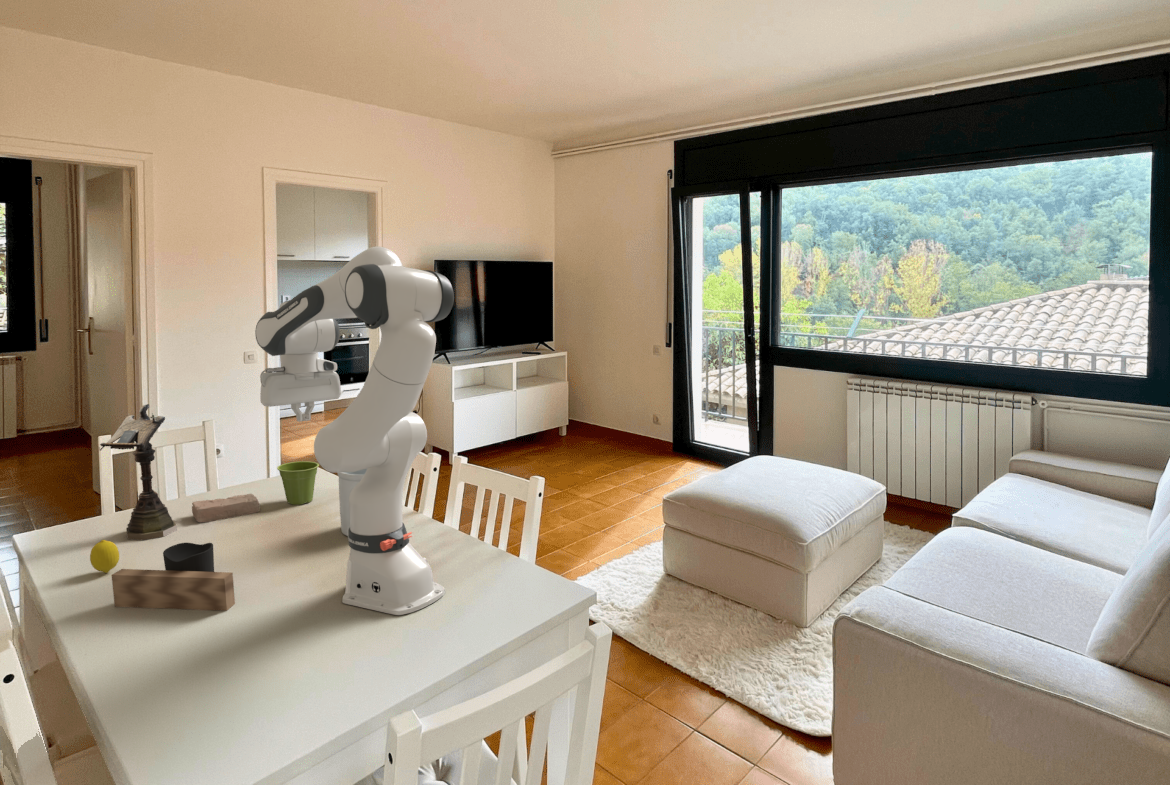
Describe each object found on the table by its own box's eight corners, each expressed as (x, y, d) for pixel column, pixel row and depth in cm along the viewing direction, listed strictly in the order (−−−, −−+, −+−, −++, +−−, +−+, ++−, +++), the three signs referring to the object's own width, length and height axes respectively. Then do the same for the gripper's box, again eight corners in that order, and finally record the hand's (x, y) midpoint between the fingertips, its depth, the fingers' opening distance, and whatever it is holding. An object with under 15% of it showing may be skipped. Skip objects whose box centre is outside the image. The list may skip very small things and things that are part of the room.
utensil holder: (386, 516, 200) (384, 457, 197) (404, 532, 188) (402, 469, 185) (334, 526, 192) (330, 464, 189) (348, 543, 180) (345, 477, 177)
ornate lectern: (147, 548, 175) (133, 412, 169) (100, 545, 177) (85, 410, 171) (192, 525, 191) (181, 400, 186) (149, 523, 193) (136, 399, 187)
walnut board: (235, 603, 146) (232, 572, 145) (227, 610, 143) (224, 578, 142) (124, 600, 147) (121, 568, 146) (114, 606, 144) (111, 574, 143)
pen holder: (206, 579, 158) (202, 537, 156) (223, 591, 152) (220, 548, 150) (160, 593, 151) (156, 549, 149) (177, 606, 145) (172, 561, 143)
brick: (253, 505, 209) (252, 490, 209) (261, 512, 203) (259, 497, 202) (191, 517, 199) (190, 501, 198) (197, 525, 193) (196, 509, 192)
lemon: (95, 569, 162) (92, 537, 161) (123, 566, 164) (120, 534, 163) (88, 579, 157) (84, 545, 156) (117, 575, 159) (113, 542, 158)
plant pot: (324, 504, 211) (322, 468, 209) (281, 510, 205) (279, 473, 203) (317, 493, 221) (315, 459, 219) (277, 499, 215) (274, 463, 213)
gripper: (267, 368, 163) (271, 427, 164) (342, 363, 179) (346, 416, 181) (252, 368, 166) (257, 425, 168) (328, 363, 183) (331, 415, 184)
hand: (303, 420), depth 174 cm, fingers closed
